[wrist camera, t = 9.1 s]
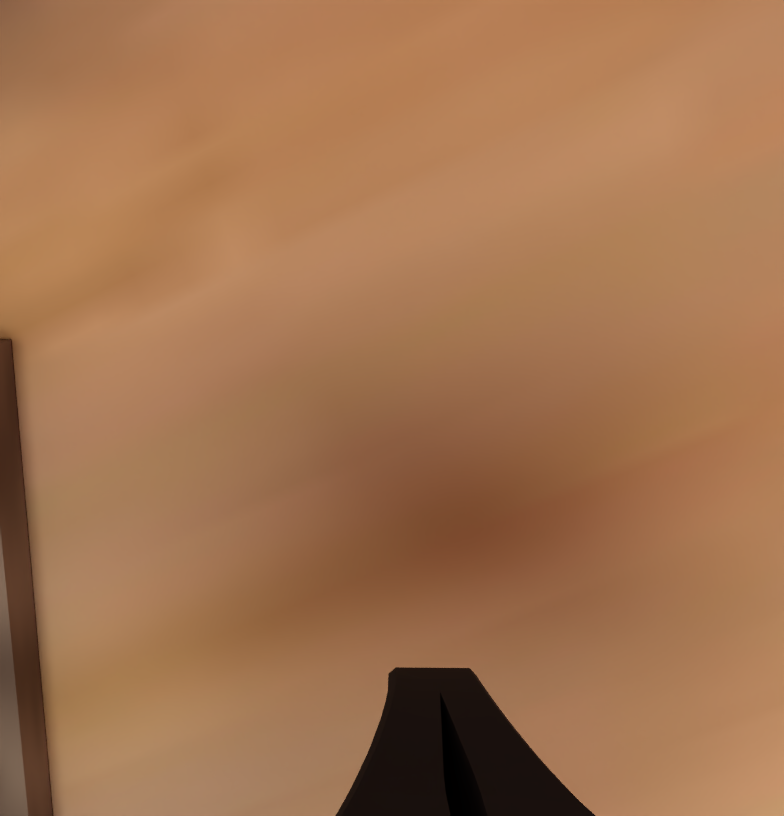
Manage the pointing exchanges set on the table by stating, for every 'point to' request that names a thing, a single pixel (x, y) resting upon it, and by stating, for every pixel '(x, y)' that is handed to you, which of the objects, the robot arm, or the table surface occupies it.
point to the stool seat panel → (18, 629)
